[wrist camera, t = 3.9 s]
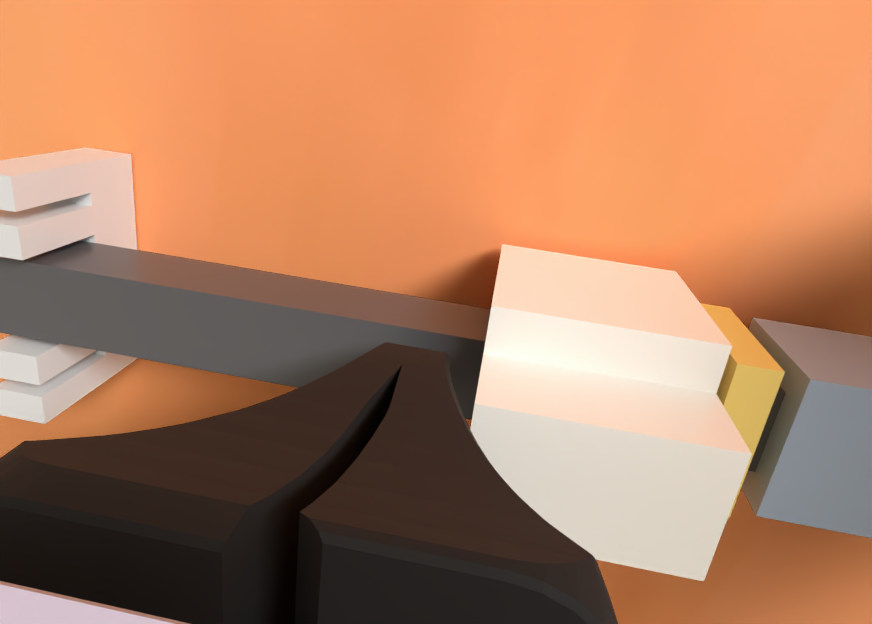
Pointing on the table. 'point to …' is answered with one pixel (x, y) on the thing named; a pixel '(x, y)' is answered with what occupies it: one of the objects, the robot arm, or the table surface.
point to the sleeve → (610, 408)
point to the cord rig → (362, 336)
